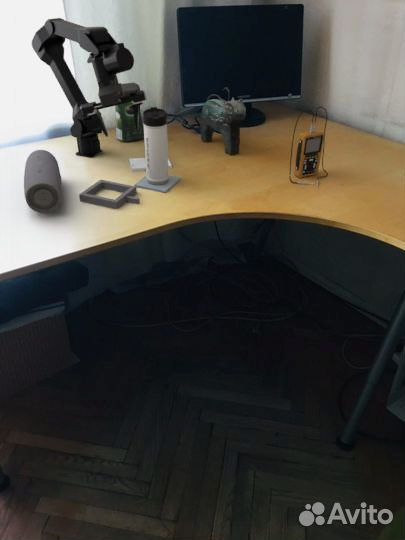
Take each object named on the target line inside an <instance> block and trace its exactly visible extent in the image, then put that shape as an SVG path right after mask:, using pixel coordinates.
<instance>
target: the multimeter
mask: <svg viewBox="0 0 405 540" xmlns="http://www.w3.org/2000/svg"><path fill="white" fill-rule="evenodd" d="M319 109H323V110H324V112H325V114H326V117H325V118H326V119H325V124H324V131H322V130H320V129H316V124H317V123H316V122H317V115H318V110H319ZM305 111H306V112H307V111H308V112H311V114H312V119H311V125H310V129H309V131H303V132H300V133H299V134H298V135H299V136H298V142H297V148H296V156H295V164H294V165H295V166H294V171H293V174H294V176H296V177H297V178H300V179H302V178H305V177H310V176H316V175H318V173H319V170H320V169H319V168H320V164H321V166H322V170H323V171H324V172H325V173H326V175H324V176H323V175H322V176H321V178H325V177H328V172H327V171H326V170H325V169H324V155H325V146H324V141H325V137H326V129H327V128H326V127H327V124H328V123H327V122H328V112H327V109H326V108H325V107H323V106H318V107H317V108H316V112H315V115H314V112H313V111H312V110H311V109H304V110H302V111H301V112H300V113H299V115H298V116H297V120H296V123H295V125H294V129H293V134H292V142H291V148H290V149H291V151H290V161H289V162H290V163H289V174H291V173H292V172H291V170H292V169H291V167H292V156H293V148H294V147H293V146H294V138H295V133H296V130H297V129H296V128H297V125H298V122H299V119H300V116H301V115H302V114H303V113H304V112H305ZM314 117H315V118H314ZM321 159H322V161H321ZM320 162H321V163H320ZM319 178H320V176H317V177H316V183H315V185H316V187H318V185H319ZM289 181H290V182H291V183H293V184H299V185H313V183H311V182H310V183H309V182H303V181H302V182H300V181H297V182H295V181H292V179H291V177H289Z"/></svg>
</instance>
